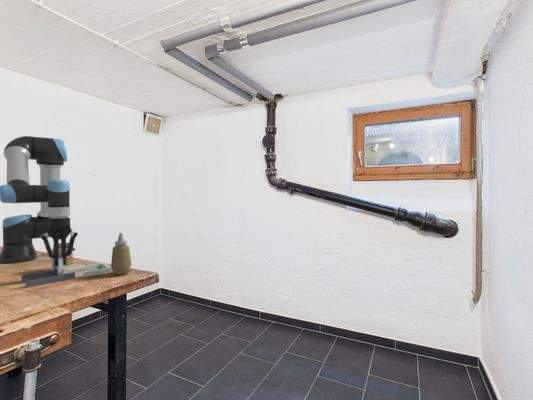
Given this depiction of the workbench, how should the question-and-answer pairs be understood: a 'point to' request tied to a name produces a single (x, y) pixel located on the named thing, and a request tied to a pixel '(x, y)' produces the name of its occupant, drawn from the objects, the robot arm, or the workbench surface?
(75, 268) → the block
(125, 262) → the squeeze bottle
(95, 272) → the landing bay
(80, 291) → the workbench surface
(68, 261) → the beverage can
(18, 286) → the workbench surface
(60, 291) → the workbench surface
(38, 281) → the chute
